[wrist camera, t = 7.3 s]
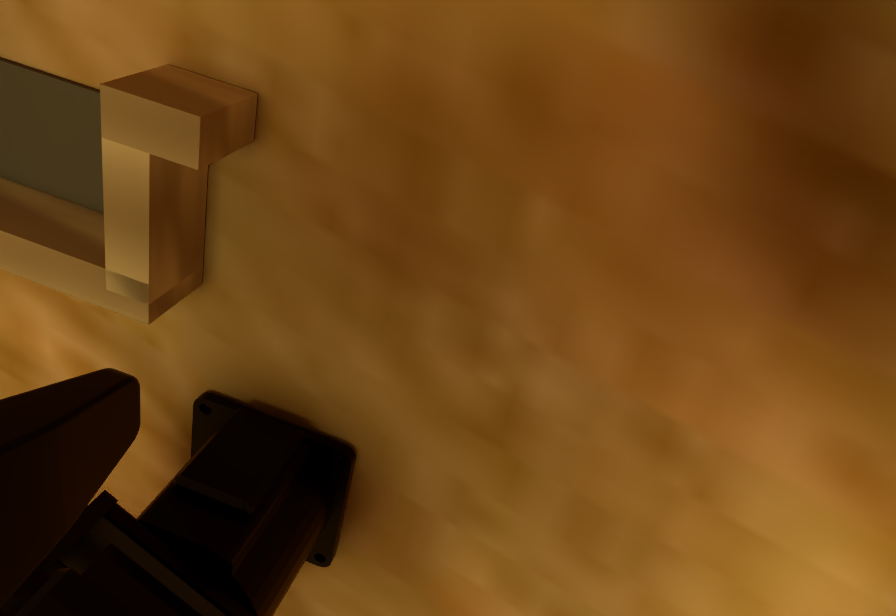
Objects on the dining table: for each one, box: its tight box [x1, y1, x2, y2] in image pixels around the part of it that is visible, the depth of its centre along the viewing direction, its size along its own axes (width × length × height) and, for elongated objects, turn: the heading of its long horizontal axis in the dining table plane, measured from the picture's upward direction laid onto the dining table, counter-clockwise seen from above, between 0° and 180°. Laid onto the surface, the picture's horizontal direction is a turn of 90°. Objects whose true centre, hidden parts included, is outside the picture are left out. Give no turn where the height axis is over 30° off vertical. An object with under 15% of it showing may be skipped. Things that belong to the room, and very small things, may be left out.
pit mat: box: [0, 58, 104, 213], centre depth 24 cm, size 4×7×1 cm, turn 77°
